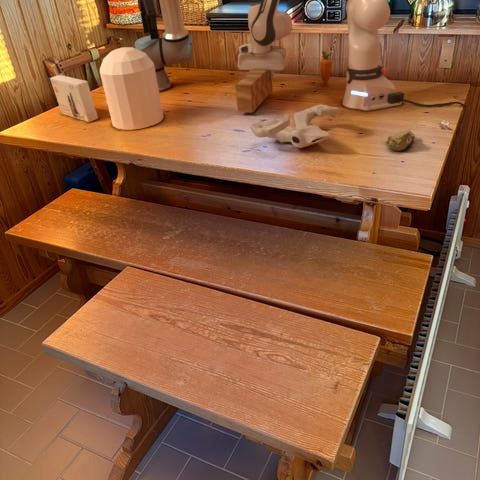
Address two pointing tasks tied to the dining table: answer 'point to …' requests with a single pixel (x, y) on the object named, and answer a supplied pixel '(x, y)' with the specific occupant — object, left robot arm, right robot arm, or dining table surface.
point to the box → (253, 90)
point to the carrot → (325, 67)
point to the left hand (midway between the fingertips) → (151, 35)
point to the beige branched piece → (297, 127)
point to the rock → (400, 140)
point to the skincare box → (74, 97)
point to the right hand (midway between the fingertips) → (262, 80)
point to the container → (131, 89)
